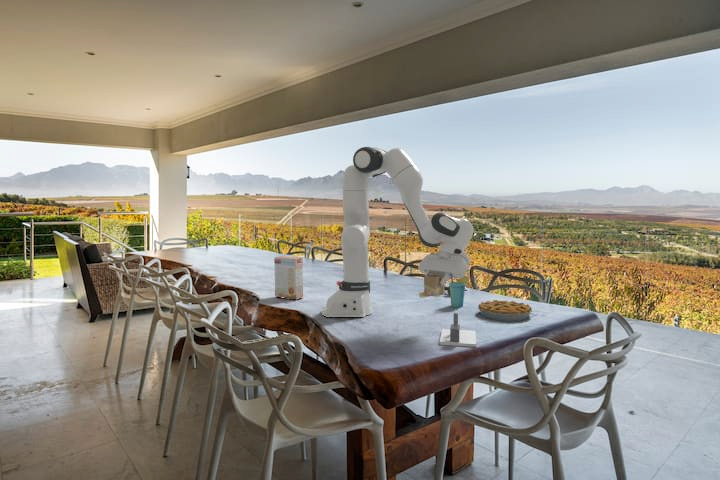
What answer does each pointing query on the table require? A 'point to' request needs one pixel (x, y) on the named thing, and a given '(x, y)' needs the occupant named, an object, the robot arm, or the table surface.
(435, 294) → the wooden pencil holder
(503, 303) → the pie
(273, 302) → the table surface
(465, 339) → the base plate
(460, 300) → the cup
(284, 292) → the cracker box
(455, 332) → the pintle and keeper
